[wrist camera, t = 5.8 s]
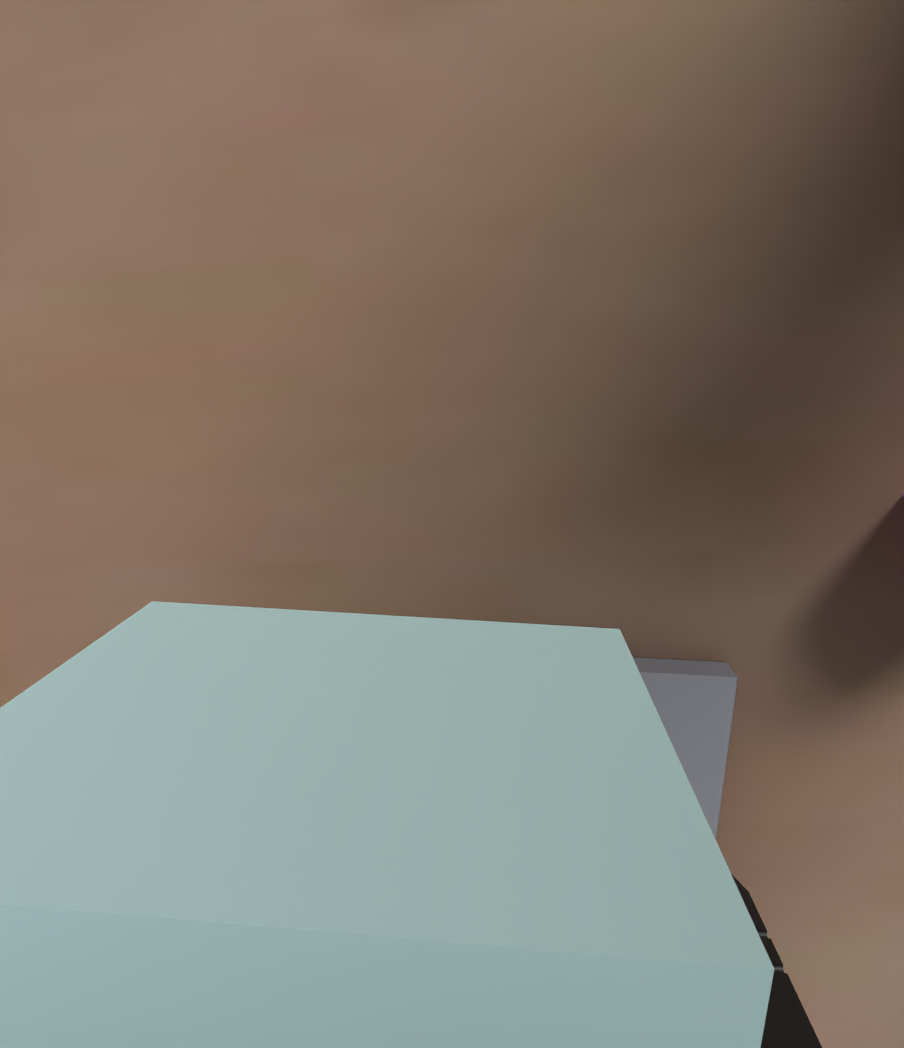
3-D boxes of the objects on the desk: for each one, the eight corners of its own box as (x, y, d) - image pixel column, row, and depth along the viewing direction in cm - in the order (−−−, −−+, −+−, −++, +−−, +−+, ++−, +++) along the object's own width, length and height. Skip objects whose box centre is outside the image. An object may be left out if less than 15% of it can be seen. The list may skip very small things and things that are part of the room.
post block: (335, 641, 25) (226, 832, 15) (726, 662, 25) (886, 877, 14) (339, 996, 29) (254, 1339, 19) (679, 1025, 28) (779, 1398, 18)
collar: (151, 601, 9) (-250, 884, 4) (619, 629, 9) (773, 967, 4) (176, 980, 10) (-103, 1524, 6) (580, 1017, 10) (658, 1625, 5)
